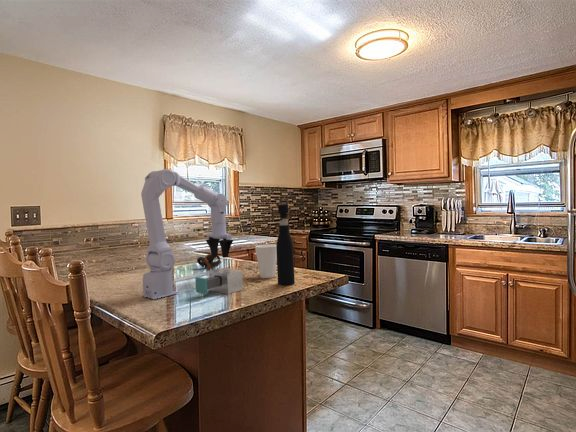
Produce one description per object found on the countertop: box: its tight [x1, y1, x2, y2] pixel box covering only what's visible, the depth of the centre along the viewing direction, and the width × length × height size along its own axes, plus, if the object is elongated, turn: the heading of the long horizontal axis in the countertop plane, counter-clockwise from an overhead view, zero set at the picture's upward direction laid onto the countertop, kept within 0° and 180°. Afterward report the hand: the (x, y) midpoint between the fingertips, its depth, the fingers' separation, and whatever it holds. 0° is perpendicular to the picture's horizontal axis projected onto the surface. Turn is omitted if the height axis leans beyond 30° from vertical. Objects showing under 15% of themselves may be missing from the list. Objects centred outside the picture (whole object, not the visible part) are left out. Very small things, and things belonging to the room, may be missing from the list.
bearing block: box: [208, 267, 244, 295], centre depth 125 cm, size 7×10×7 cm
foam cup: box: [254, 243, 277, 279], centre depth 145 cm, size 10×9×13 cm
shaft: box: [195, 276, 222, 295], centre depth 120 cm, size 9×5×5 cm, turn 141°
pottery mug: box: [196, 253, 222, 271], centre depth 168 cm, size 12×10×8 cm
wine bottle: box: [275, 204, 295, 287], centre depth 131 cm, size 6×6×30 cm
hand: (220, 256), depth 140 cm, fingers open, 7 cm apart
